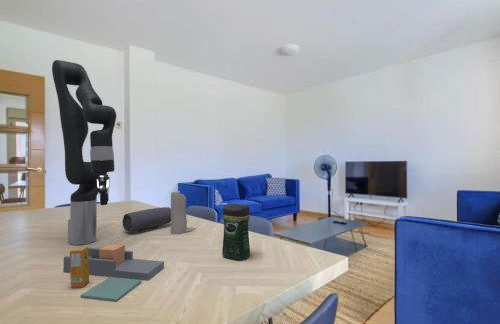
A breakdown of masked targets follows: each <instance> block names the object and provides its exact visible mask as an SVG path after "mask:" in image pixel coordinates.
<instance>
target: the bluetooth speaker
mask: <svg viewBox="0 0 500 324" xmlns="http://www.w3.org/2000/svg"><path fill="white" fill-rule="evenodd" d="M168 224H171V207H167V206H166V207H165V206H163V207H156V208H147V209H142V210H137V211H132V212H129V213H128V212H127V213H125V214H124V215H123V218H122V228H123V230H124V231H125V232H127V233H128V232H135V231H137V232H140V231H142V232H146V230H148V231H151V229H152V230H156V229H159V228H160V226H164V225H168Z"/></svg>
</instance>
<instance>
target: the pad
mask: <svg viewBox="0 0 500 324" xmlns="http://www.w3.org/2000/svg"><path fill="white" fill-rule="evenodd" d="M141 283H142V280H138V279H128V278H118V277H108V278H106V279H105V280H103V281H101V282H99V283H98V284H95V285H94V286H93V287H92V288H89V289H88V290H87V291H85V292H83V293H82V294H80V298H83V299H91V300H92V299H93V300H97V301H105V302H106V301H109V302H114V303H115V302H118V301H120V300H121V299H122V298H123V297H125V296H127V294H129V293H131V291H132V290H134V289H135V288H136V287H138V286H139V285H140V284H141Z"/></svg>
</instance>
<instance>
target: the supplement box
mask: <svg viewBox="0 0 500 324" xmlns="http://www.w3.org/2000/svg"><path fill="white" fill-rule="evenodd" d="M88 248H89V246H78V247H75V248H73V249H72V250H70V251H69V256H70V289H79V288H85V286H87V284H88V283H90V275H89V258H88Z"/></svg>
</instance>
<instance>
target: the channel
mask: <svg viewBox="0 0 500 324" xmlns="http://www.w3.org/2000/svg"><path fill="white" fill-rule="evenodd" d="M99 249H101V248H100V247H98V248H96V247H88V258H89V276H99V277H101V276H102V277H108V278H109V277H112V278H122V279H132V280H141V281H149V280H151V278H153V277H154V276H156V275H157V274H158V273H159V272H161V271H162V270H163V269H165V261H164V260H163V261H162V260H154V259H153V260H152V259H151V260H150V259H139V258H134V251H132V250H125V261H123V262H122V263H120V264H118V265H116V260H107V259H99ZM63 273H68V274H69V273H70V255H66V256H63Z"/></svg>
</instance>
